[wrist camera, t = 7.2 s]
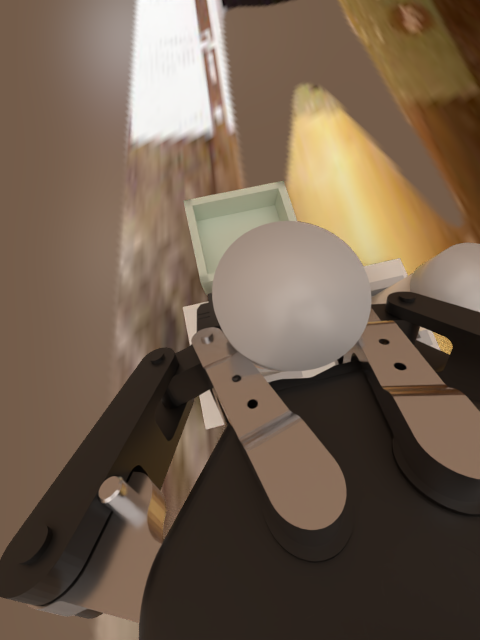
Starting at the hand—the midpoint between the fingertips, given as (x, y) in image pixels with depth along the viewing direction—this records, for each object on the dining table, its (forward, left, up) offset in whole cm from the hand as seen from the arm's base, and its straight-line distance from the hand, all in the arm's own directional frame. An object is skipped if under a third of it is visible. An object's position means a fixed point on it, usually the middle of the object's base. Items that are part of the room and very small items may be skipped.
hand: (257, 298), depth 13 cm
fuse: (-12, +2, -10) cm, 16 cm away
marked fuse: (0, +2, -5) cm, 5 cm away
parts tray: (-2, -10, -11) cm, 15 cm away
